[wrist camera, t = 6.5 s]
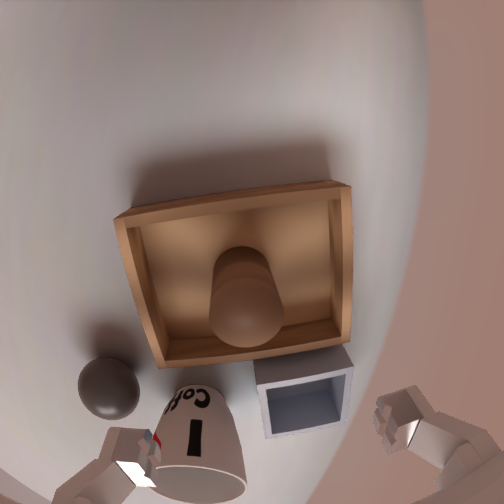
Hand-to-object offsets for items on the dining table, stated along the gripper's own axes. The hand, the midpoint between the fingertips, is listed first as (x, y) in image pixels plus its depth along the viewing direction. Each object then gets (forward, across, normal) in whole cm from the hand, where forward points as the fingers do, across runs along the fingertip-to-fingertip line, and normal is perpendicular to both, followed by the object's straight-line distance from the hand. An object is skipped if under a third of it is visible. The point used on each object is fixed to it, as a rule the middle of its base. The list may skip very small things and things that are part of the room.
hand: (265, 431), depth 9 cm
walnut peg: (+13, 0, -1) cm, 13 cm away
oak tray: (+14, 0, -1) cm, 14 cm away
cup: (+14, +6, +13) cm, 20 cm away
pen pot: (+14, -3, +10) cm, 18 cm away
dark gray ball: (+14, +13, +8) cm, 21 cm away
